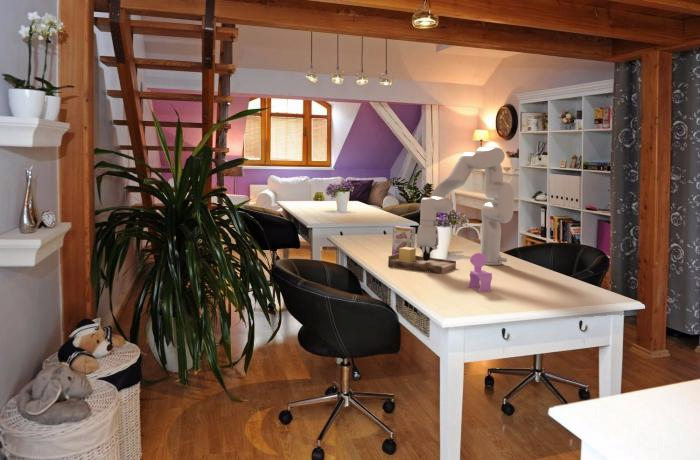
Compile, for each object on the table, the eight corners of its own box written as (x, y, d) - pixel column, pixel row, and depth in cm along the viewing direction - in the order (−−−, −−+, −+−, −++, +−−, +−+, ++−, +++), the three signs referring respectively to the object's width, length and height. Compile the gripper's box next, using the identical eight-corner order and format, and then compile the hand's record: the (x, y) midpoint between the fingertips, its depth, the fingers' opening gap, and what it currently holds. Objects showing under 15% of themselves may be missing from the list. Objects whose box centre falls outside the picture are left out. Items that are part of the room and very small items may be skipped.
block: (415, 260, 301) (415, 248, 300) (409, 261, 296) (410, 249, 295) (404, 258, 304) (405, 246, 303) (398, 260, 299) (399, 248, 299)
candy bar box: (391, 257, 321) (392, 226, 319) (395, 255, 326) (397, 225, 323) (410, 259, 316) (411, 228, 313) (414, 258, 320) (415, 227, 318)
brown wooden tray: (455, 268, 297) (456, 258, 296) (441, 274, 282) (441, 263, 281) (404, 260, 311) (405, 251, 311) (388, 266, 296) (388, 256, 295)
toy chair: (476, 292, 248) (479, 256, 246) (465, 287, 256) (467, 252, 254) (493, 291, 251) (496, 255, 249) (481, 286, 259) (483, 252, 257)
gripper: (445, 223, 292) (443, 261, 294) (417, 221, 300) (415, 257, 302) (438, 225, 285) (437, 263, 288) (410, 222, 293) (409, 259, 296)
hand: (426, 260), depth 295 cm, fingers closed
